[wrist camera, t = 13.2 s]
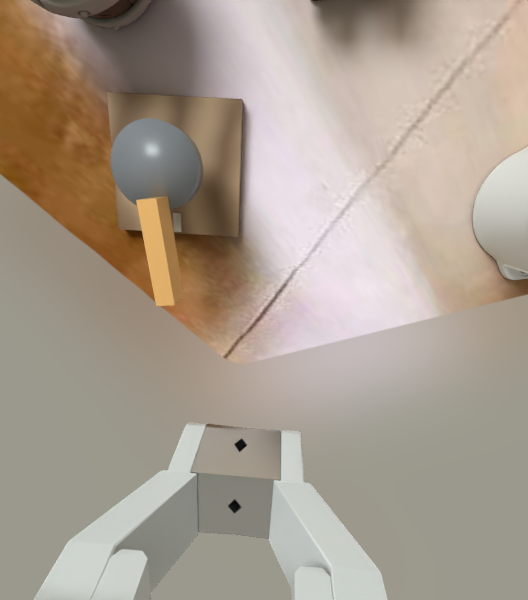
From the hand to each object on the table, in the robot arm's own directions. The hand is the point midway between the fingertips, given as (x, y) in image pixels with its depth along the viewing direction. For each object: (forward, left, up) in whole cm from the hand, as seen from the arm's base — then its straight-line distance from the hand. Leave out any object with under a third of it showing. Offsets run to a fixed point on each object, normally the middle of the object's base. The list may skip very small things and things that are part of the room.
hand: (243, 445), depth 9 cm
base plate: (+13, -7, -39) cm, 42 cm away
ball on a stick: (+12, -2, -33) cm, 35 cm away
